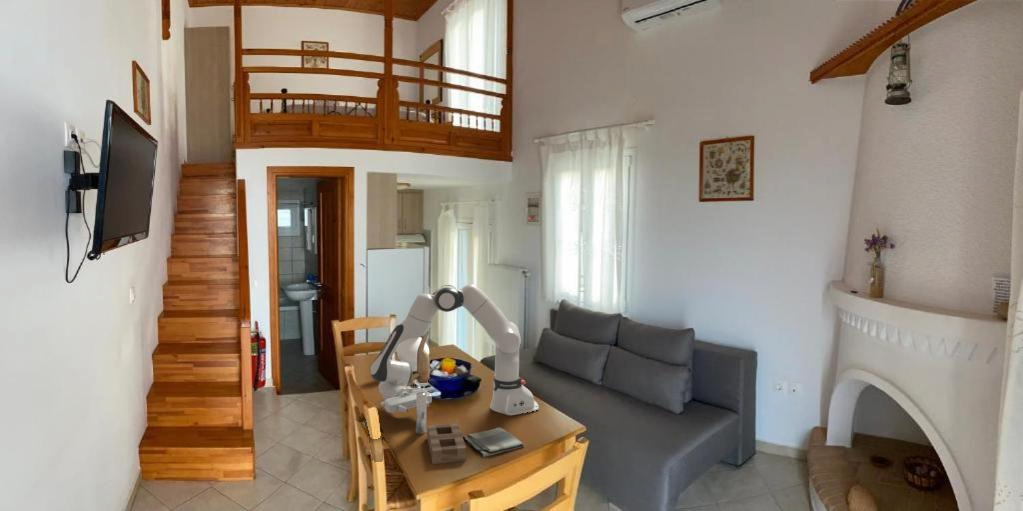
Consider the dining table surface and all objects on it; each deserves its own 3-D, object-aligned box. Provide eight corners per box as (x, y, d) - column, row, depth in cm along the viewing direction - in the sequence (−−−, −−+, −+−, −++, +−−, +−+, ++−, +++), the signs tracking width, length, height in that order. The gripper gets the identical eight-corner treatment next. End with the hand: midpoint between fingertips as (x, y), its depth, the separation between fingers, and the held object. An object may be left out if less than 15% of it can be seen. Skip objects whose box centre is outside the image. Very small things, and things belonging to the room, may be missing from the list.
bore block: (427, 438, 192) (427, 426, 192) (457, 435, 195) (457, 423, 195) (432, 464, 173) (432, 450, 173) (465, 460, 176) (466, 447, 176)
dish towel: (500, 430, 203) (500, 422, 203) (524, 448, 188) (524, 440, 188) (460, 439, 193) (460, 432, 193) (482, 460, 178) (482, 451, 178)
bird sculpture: (410, 385, 249) (410, 324, 245) (434, 383, 252) (433, 323, 248) (412, 394, 238) (411, 330, 235) (436, 392, 241) (435, 328, 238)
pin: (425, 429, 200) (426, 391, 199) (426, 433, 196) (427, 395, 195) (415, 430, 199) (416, 392, 198) (416, 434, 195) (417, 395, 194)
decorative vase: (398, 362, 284) (399, 320, 281) (429, 362, 286) (430, 321, 283) (394, 373, 266) (395, 328, 264) (427, 373, 268) (428, 328, 266)
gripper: (378, 395, 203) (394, 406, 193) (422, 385, 216) (438, 395, 206) (378, 410, 204) (393, 421, 193) (422, 399, 217) (438, 409, 206)
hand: (417, 407), depth 199 cm, fingers open, 8 cm apart
